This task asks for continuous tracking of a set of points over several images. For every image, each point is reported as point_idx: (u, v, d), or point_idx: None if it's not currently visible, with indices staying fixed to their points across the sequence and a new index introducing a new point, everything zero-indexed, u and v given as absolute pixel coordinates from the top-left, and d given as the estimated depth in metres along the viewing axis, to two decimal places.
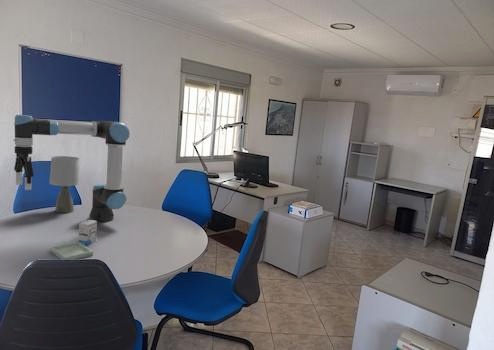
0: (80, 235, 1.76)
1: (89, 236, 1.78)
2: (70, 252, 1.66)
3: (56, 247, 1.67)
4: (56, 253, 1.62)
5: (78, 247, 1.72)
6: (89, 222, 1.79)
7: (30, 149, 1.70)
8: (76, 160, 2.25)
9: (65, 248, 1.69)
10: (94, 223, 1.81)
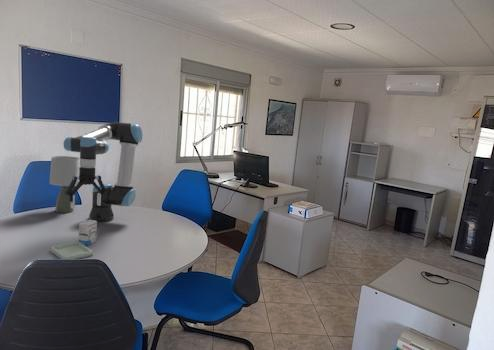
0: (80, 235, 1.76)
1: (89, 236, 1.78)
2: (70, 252, 1.66)
3: (56, 247, 1.67)
4: (56, 253, 1.62)
5: (78, 247, 1.72)
6: (89, 222, 1.79)
7: (83, 170, 1.71)
8: (76, 160, 2.25)
9: (65, 248, 1.69)
10: (94, 223, 1.81)
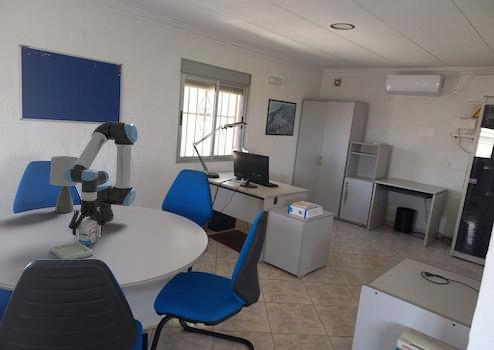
0: (80, 235, 1.76)
1: (89, 236, 1.78)
2: (70, 252, 1.66)
3: (56, 247, 1.67)
4: (56, 253, 1.62)
5: (78, 247, 1.72)
6: (89, 222, 1.79)
7: (84, 203, 1.74)
8: (76, 160, 2.25)
9: (65, 248, 1.69)
10: (94, 223, 1.81)
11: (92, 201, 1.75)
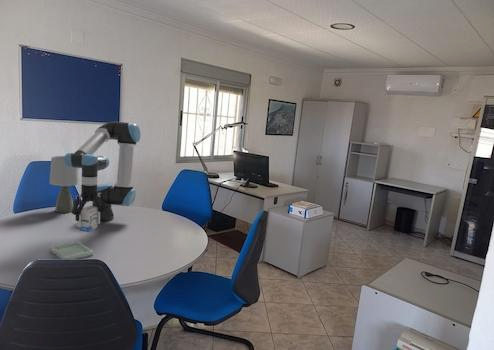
0: (81, 221, 1.76)
1: (90, 222, 1.78)
2: (70, 252, 1.66)
3: (56, 247, 1.67)
4: (56, 253, 1.62)
5: (78, 247, 1.72)
6: (90, 208, 1.78)
7: (85, 188, 1.73)
8: None
9: (65, 248, 1.69)
10: (95, 209, 1.80)
11: (93, 186, 1.74)
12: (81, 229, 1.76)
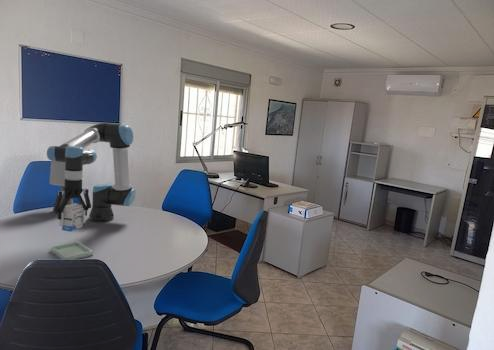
0: (64, 220, 1.59)
1: (74, 221, 1.61)
2: (70, 252, 1.66)
3: (56, 247, 1.67)
4: (56, 253, 1.62)
5: (78, 247, 1.72)
6: (74, 205, 1.62)
7: (68, 182, 1.57)
8: None
9: (65, 248, 1.69)
10: (79, 207, 1.64)
11: (77, 181, 1.59)
12: (64, 228, 1.60)
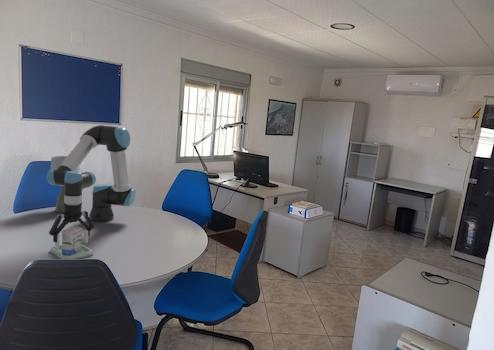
0: (63, 244, 1.61)
1: (74, 245, 1.63)
2: None
3: None
4: (56, 253, 1.62)
5: None
6: (73, 229, 1.64)
7: (68, 207, 1.59)
8: None
9: None
10: (79, 230, 1.66)
11: (76, 205, 1.60)
12: (63, 252, 1.62)
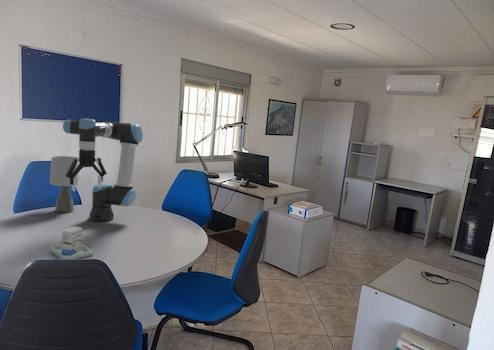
0: (63, 244, 1.61)
1: (74, 245, 1.63)
2: None
3: (56, 247, 1.67)
4: (56, 253, 1.62)
5: None
6: (73, 229, 1.64)
7: (83, 152, 1.70)
8: None
9: None
10: (79, 230, 1.66)
11: (91, 151, 1.71)
12: (63, 252, 1.62)
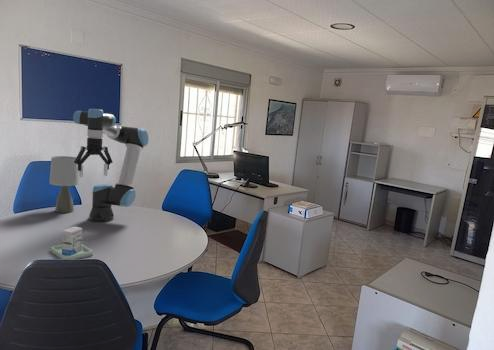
0: (63, 244, 1.61)
1: (74, 245, 1.63)
2: None
3: (56, 247, 1.67)
4: (56, 253, 1.62)
5: None
6: (73, 229, 1.64)
7: (91, 140, 1.79)
8: None
9: None
10: (79, 230, 1.66)
11: (98, 139, 1.80)
12: (63, 252, 1.62)
